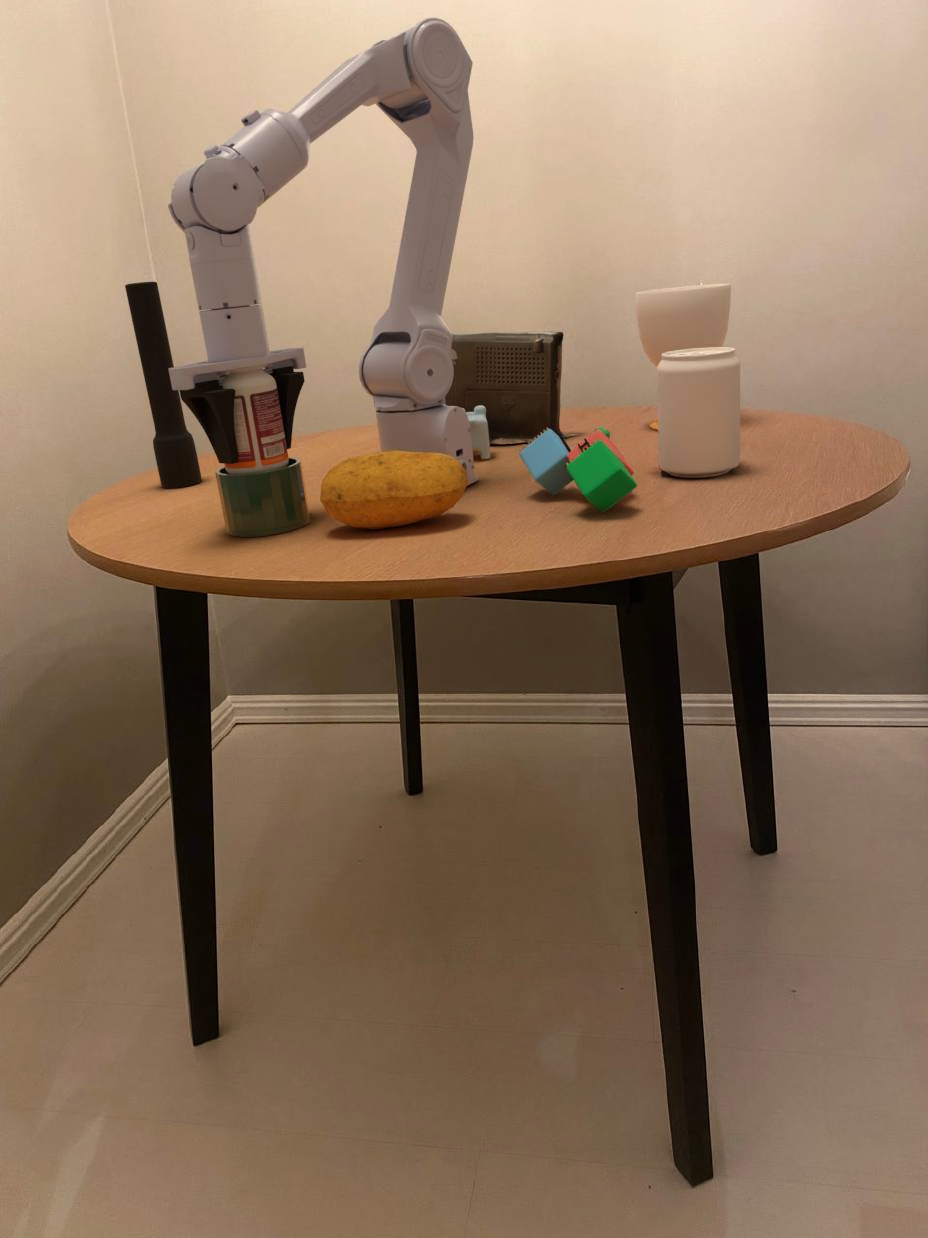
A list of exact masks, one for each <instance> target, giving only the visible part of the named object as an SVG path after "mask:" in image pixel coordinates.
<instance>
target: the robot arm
mask: <svg viewBox="0 0 928 1238" xmlns="http://www.w3.org/2000/svg"><path fill="white" fill-rule="evenodd" d="M472 68H473V60H472V59H471V56H470V54H469V53H468V51H467V48H466V47H465V45H464V44H463V41H462V39H461V37H460V35H459V34H458V32H457V31H456V29H454V27H453V26H452V25H451V24H450V23H448V22H447V21H446V20H443V19H442V18H438V17H427V18H424V19H422V20H420V21H419V22H417V23H416V24H415V25H414V26H412V27H410V28H409V29H406V30H404V31H402V32H400V33H398V34H396V35H394V36H392V37H390V38H388V39H383V40H379V41H378V42H375V43H374V44H372V45H371V46H370V47H369V48H368V49H365V50H363V51H361V52H359V53H356V55H354V56H351V57H349V58H348V59H346V60H345V61H343V62H342V63H341V64H340V65H339V66H338V67H337V68H335V70H333V71H332V72H331V73H330V74H328V76H326V77H325V79H323V80H322V81H321V82H320V83H319V84H318V85H316V86H315V87H314V88H313V89H312V90H311V91H310V92H309V93H308V94H306V95H305V96H304V97H303V98H302V99H301V100H300V101H298V102H297V103H296V104H295V105H294V106H293V107H292V108H290V109H289V111H287V112H285V111H281V110H278V109H274V108H266V109H264V110H263V111H262V112H259V110H258V109H253V110H250V111H249V112H248V113H247V114H245V115H244V116H243V117H241V123H242V124H243V127H242V128H240V129H239V130H238V131H237V132H236V133H234V134H233V135H231V137H229V138H228V139H227V140H225V141H224V142H223V143H222V144H220V145H219V146H218V145H217V144H215V143H214V144H212V145H210V146H209V147H207V148H206V149H204V151H203V155H204V156H205V161H204V163H201V164H199V165H196V166H194V167H191V168H189V169H186V170H185V171H183V172H182V173H180V174H179V175H178V176H177V177H176V179H175V180H174V183H173V188H172V189H171V195H170V198H171V200H170V203H168V205H167V207H168V211H169V213H170V216H171V218H172V220H173V221H174V223H175V224H176V226H177V227H178V228H179V229H180V230H181V231H182V232H183V233H184V236H185V240H186V241H185V242H186V246H187V251H188V261H189V265H190V272H191V276H192V281H193V288H194V292H195V298H196V302H197V308H198V313H199V319H200V323H201V324H200V325H201V330H202V335H203V341H204V346H205V351H206V356H207V359H206V360H204V361H199V362H194V363H190V364H183V365H180V366H179V365H178V366H174V367H173V368H169V369H168V370H169V375H170V380H171V385H172V390H179V395H180V400H181V402H183V403H184V404H185V406H186V407H187V408H188V409H189V410H190V412H191V413H192V414H193V416H194V417H195V418H196V420H197V421H198V423H199V425H200V426H201V428H202V430H203V431H204V433H205V435H206V437H207V439H208V441H209V443H210V445H211V447H212V449H213V451H214V454H215V456H216V458H217V461H218V463H219V464H224V463H225V464H234V463H238V448H237V442H236V436H235V429H234V399H235V390H234V389H223V386H219V383H221V382H223V381H224V380H225V379H226V376H220V377H218V375H228V374H231V372H230V371H229V370H235V369H243V368H250V367H256V366H262V365H267V364H268V365H267V366H266V367H263V370H264V372H265V373H267V374H269V375H271V376H272V377H273V378H274V379H275V382H276V386H277V391H278V397H279V404H280V410H281V416H282V421H283V428H284V434H285V440H286V446H287V450H290V449H292V439H293V428H294V421H295V413H296V408H297V405H298V399H299V397H300V394H301V391H302V389H303V386H304V384H305V382H306V381H305V374H304V371H295V370H301V369H306V368H307V362H306V357H305V350H304V347H290V348H284V349H278V350H270V344H269V339H268V338H269V337H268V333H267V326H266V321H265V314H264V308H263V307H264V306H263V301H262V296H261V291H260V290H261V289H260V285H259V278H258V271H257V267H256V260H255V251H254V249H253V242H252V235H251V230H250V224H252V222H253V221H254V220H255V217H256V215H257V211H258V208H260V207H261V206H262V205H263V204H264V203H266V202H267V201H268V200H269V199H270V198H272V197H274V195H276V194H277V192H279V191H280V190H282V189H283V187H285V186H287V184H289V183H290V182H291V181H292V180H294V178H295V177H296V176H298V175H299V174H300V173H302V172H303V171H304V170H305V169H306V168H307V166H308V164H309V160H310V146H311V144H312V143H313V142H315V141H316V140H318V139H319V138H320V137H322V136H323V135H324V134H325V133H326V132H328V131H329V130H331V129H332V128H333V127H335V126H336V125H337V124H339V123H340V122H341V121H343V120H344V119H345V118H346V117H348V116H349V115H351V114H352V113H353V112H354V111H356V110H357V109H358V108H359V107H361V106H363V107H371V106H373V105H376V106H377V107H378V108H379V109H380V110H381V111H382V112H383V113H384V114H385V116H387V117H388V118H389V119H390V120H391V121H392V123H394V124H395V125H396V126H397V128H399V130H400V131H401V132H403V134H404V135H405V136H407V138H408V139H409V140H410V141H411V143H412V144H413V146H414V148H415V149H416V155H415V160H414V167H413V171H412V177H411V183H410V188H409V194H408V200H407V205H406V211H405V215H404V221H403V227H402V233H401V238H400V245H399V250H398V255H397V260H396V266H395V271H394V276H393V277H394V278H393V283H392V288H391V294H390V299H389V305H388V307H387V309H386V310H385V311H384V313H383V314H382V316H381V317H380V318H379V319H378V321H377V322H376V323H375V325H374V326H373V329H372V334H371V335H372V336H371V339H370V342H369V344H368V345H367V347H366V348H365V349H364V351H363V352H362V354H361V357H360V360H359V363H358V377H359V381H360V383H361V385H362V387H363V389H364V391H365V392H366V393H367V394H368V395H369V396H370V397H372V399H373V406H374V408H375V416H376V423H377V424H376V425H377V432H378V438H379V440H378V441H379V447H380V452H384V451H392V450H398V451H406V452H429V453H441V454H446V455H450V456H452V457H454V458H455V459H457V460H458V461H459V463H460V464H461V465H462V467H463V468H464V469H465V470H466V472H467V479H468V483H467V486H466V487H468V486H470V485H472V484H474V483H476V482H477V481H479V475H476V472H475V461H474V450H473V449H472V439H471V429H470V423H469V419H468V417H467V414H466V412H465V411H464V410H463V409H462V408H460V407H458V406H447V405H445V404H446V402H445V396H446V394H447V393H448V391H449V389H450V388H451V385H452V382H453V376H454V369H453V363H452V358H451V346H452V340H453V335H452V334H453V332H452V331H451V330H450V328H449V327H448V326H447V324H446V323H445V321H444V320H443V318H442V313H443V309H444V303H445V297H446V292H447V285H448V283H449V276H450V270H451V265H452V260H453V255H454V249H455V243H456V238H457V233H458V227H459V224H460V223H459V222H460V217H461V212H462V206H463V200H464V195H465V189H466V186H467V179H468V173H469V168H470V162H471V158H472V152H473V147H474V139H475V138H474V129H473V120H472V113H471V105H470V97H469V85H470V79H471V74H472Z"/></svg>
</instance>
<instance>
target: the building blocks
mask: <svg viewBox="0 0 928 1238" xmlns="http://www.w3.org/2000/svg"><path fill="white" fill-rule="evenodd" d="M546 429H547V430H546V431H545V430H543V432H544V433H543V434H542V432H540V434H541V435H540V436H539V435H537V437H538V438H537V439H536V437H534V439H535V440H534V441H533V440H531V442H527V444H525V445H524V446H525V447H523V446H522V447H521V449H519V450H518V452H519V457H520V458H521V460H522V462H523V464H524V465H525V467H526V468H527V471H528V472H529V473H530V475H531V476H532V479H533V480H534V481H535V482H536V483H537V484H539V485H540V486H541V487H542V488H543V489H545V491H547V492H548V493H550V494H551V495H556V494H558V493H559V492H560V491H561V490H563V489H564V488H566V487H567V486H568V485H569V484H570V483H572V482H574V483H575V485H576V486H577V488H578V489H579V491H580V493H581V494H582V495H583V497H584V498H585V499H586V500H587V501H588V502H590V503H591V504H592V505H593V506H594V507H596V509H598V510H599V511H600V512H602V513H605V512H606V511H607V510H609V509H610V508H611V507H613V506H614V505H615V504H617V503H618V502H619V501H621V500H622V499H623V498H625V497H626V496H627V495H628V494H630V493H631V492H632V491H633V490H635V489H636V488H637V487H638V484H637V482H636V481H635V479H634V477H633V475H634V474H635V472H634V470H633V468H632V467H631V465H630V464H629V463H628V461H627V459H626V458H625V456H624V455H623V454H622V453H621V451H620V449H619V448H618V446H617V445H616V444H615V443H614V442H613V441H612V440H611V439H610V437H611V432H610V431H609V430H608V429H606V428H604V427H601V426H597V427H595V428H594V430H593V433H591V434H590V435H589V436H588V437H586V438H583V441H581V442H580V443H577V445H576V447H574V448H573V449H572V448H571V447H570V446H569V444H568V443H567V442H566V440H565V438H563V437H561V436H560V435H559V433H558V435H557V434H556V433H555V432H553V431H552V430H551V429H549V428H548V427H547V428H546Z"/></svg>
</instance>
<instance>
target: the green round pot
mask: <svg viewBox="0 0 928 1238" xmlns="http://www.w3.org/2000/svg"><path fill="white" fill-rule="evenodd" d="M288 458H289V462H288V464H287V466H285V467H284V468H281V469H277V470H272V471H266V472H260V473H251V474H238V475H232V474H229V473H228V472H227V471H226V469H225V465H223V466H221V467H219V468H217V469H216V470H215V471H214V474H215V480H216V485H217V490H218V495H219V500H220V505H221V506H220V507H221V512H222V516H223V521H224V527H225V530H226V533H227V535H229V536H233V537H238V538H258V537H259V538H260V537H266V536H267V537H268V536H274V535H279V534H285V533H289V532H292V531H295V530H297V529H300V528H302V527H304V526H307V525H308V524H309V523H310V521H311V517H310V509H309V503H308V497H307V492H306V485H305V477H304V472H303V465H302V460H301V459H300V458H297V457H292V456H288Z"/></svg>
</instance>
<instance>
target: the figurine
mask: <svg viewBox="0 0 928 1238" xmlns="http://www.w3.org/2000/svg"><path fill="white" fill-rule="evenodd" d="M462 409H463V410H464V411H465V409H464V408H462ZM466 414H467V417H468V419H469V423H470V429H471V439H472V449H473V451H478V454H479V456H480V459H481V460H490V459H491V447H490V445H491V444H489V433H488V423H487V420H486V408H485V407H484V406H476V407H475V408H474V412H466Z"/></svg>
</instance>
